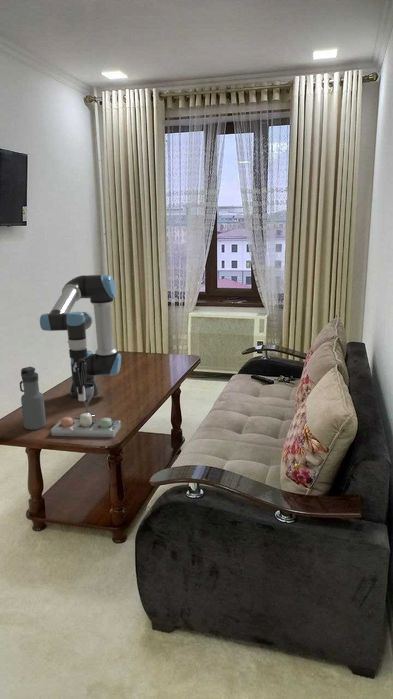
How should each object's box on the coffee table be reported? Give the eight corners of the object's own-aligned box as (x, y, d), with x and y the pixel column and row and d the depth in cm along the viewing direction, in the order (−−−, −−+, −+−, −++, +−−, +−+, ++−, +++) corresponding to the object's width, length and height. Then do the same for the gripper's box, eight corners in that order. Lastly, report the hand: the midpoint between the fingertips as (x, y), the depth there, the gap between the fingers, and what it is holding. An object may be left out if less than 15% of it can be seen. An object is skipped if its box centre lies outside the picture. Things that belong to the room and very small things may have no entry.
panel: (61, 425, 234) (61, 418, 233) (120, 426, 231) (120, 420, 230) (51, 435, 223) (51, 429, 222) (113, 437, 219) (113, 430, 219)
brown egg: (64, 427, 230) (63, 416, 229) (74, 427, 230) (73, 417, 229) (60, 431, 226) (59, 421, 224) (70, 431, 225) (69, 421, 224)
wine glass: (89, 418, 241) (87, 388, 237) (75, 417, 244) (73, 387, 240) (98, 413, 248) (96, 383, 244) (85, 411, 251) (82, 382, 247)
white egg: (82, 423, 229) (82, 413, 228) (93, 423, 228) (92, 413, 227) (79, 427, 224) (78, 417, 223) (90, 428, 223) (89, 417, 222)
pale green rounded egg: (102, 428, 228) (101, 417, 227) (113, 428, 228) (112, 417, 227) (99, 432, 224) (98, 421, 222) (110, 432, 223) (109, 422, 222)
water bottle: (20, 426, 234) (13, 368, 227) (39, 420, 240) (33, 363, 234) (30, 432, 227) (23, 372, 220) (50, 426, 233) (44, 367, 227)
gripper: (75, 344, 224) (79, 395, 230) (63, 351, 212) (68, 405, 217) (91, 344, 223) (95, 395, 229) (81, 352, 211) (85, 405, 216)
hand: (82, 400), depth 223 cm, fingers closed
